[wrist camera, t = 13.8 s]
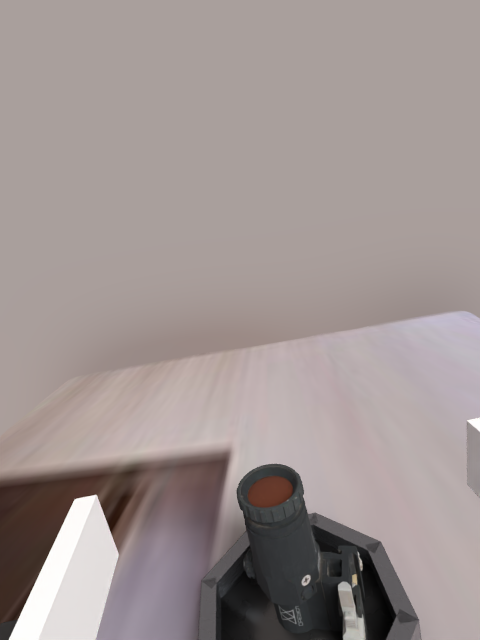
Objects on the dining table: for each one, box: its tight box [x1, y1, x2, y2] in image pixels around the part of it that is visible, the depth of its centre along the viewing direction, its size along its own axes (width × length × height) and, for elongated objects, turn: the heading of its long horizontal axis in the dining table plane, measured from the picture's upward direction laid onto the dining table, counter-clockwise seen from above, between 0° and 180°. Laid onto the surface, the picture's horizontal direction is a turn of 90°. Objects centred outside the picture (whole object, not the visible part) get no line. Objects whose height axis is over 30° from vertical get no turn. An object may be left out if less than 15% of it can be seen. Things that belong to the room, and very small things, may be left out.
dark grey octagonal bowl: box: [198, 513, 421, 640], centre depth 34 cm, size 18×18×2 cm
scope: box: [237, 464, 368, 640], centre depth 33 cm, size 8×14×10 cm
